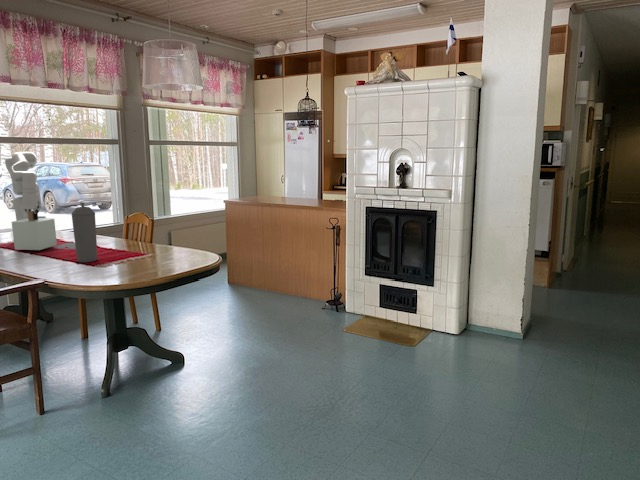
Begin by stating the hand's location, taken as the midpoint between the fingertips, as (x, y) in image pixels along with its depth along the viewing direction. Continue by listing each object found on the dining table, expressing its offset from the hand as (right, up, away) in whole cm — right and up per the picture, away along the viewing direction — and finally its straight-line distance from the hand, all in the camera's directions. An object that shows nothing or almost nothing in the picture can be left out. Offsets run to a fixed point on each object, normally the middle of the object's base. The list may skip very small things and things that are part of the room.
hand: (33, 219), depth 315 cm
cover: (0, -18, +4) cm, 19 cm away
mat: (+18, -18, +15) cm, 30 cm away
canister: (+48, -26, -26) cm, 61 cm away
